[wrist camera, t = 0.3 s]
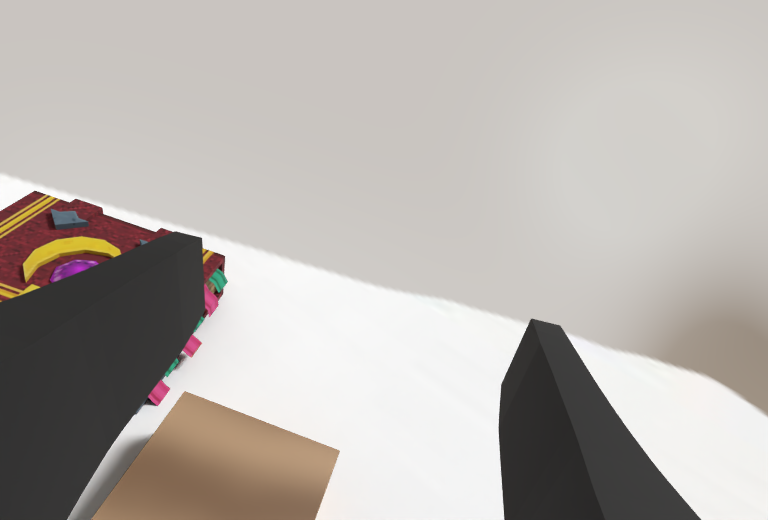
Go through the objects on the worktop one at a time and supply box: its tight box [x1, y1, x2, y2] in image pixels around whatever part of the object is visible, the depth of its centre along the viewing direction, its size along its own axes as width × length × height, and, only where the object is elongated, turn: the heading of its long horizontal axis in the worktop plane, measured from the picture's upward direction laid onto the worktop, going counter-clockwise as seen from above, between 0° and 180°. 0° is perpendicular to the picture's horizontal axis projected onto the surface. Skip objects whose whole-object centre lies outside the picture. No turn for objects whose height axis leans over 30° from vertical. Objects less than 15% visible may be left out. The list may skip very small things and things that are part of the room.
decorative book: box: [0, 191, 228, 414], centre depth 32 cm, size 11×16×5 cm
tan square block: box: [91, 391, 340, 520], centre depth 24 cm, size 9×9×4 cm
